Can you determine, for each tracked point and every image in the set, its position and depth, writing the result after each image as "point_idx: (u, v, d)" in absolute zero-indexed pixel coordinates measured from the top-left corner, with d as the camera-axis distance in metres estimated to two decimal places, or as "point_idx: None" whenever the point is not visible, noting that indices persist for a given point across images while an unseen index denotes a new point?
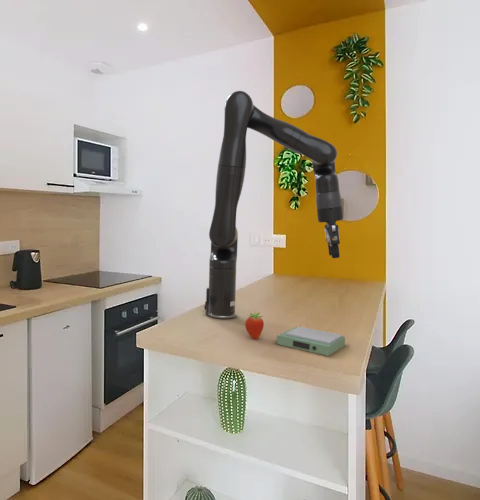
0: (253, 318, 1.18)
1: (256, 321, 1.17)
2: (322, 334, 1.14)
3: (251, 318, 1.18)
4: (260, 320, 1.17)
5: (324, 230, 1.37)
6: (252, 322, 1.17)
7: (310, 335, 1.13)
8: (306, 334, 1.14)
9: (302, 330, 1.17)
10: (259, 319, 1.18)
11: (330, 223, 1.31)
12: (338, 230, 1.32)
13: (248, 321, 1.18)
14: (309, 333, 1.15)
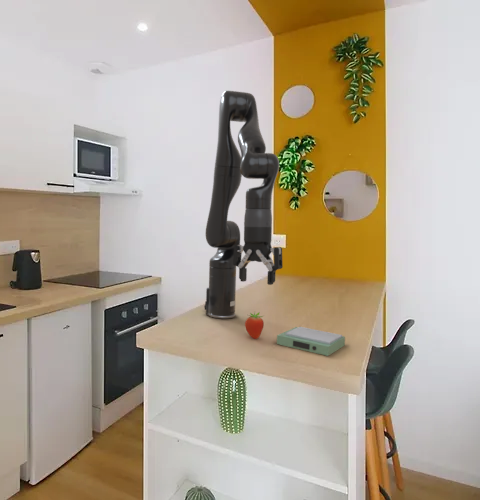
0: (253, 318, 1.18)
1: (256, 321, 1.17)
2: (322, 334, 1.14)
3: (251, 318, 1.18)
4: (260, 320, 1.17)
5: None
6: (252, 322, 1.17)
7: (310, 335, 1.13)
8: (306, 334, 1.14)
9: (302, 330, 1.17)
10: (259, 319, 1.18)
11: None
12: (246, 253, 1.18)
13: (248, 321, 1.18)
14: (309, 333, 1.15)
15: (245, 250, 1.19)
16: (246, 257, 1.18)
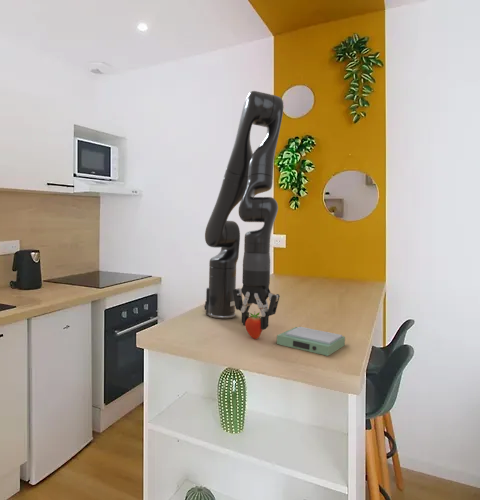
0: (253, 318, 1.18)
1: (256, 321, 1.17)
2: (322, 334, 1.14)
3: (251, 318, 1.18)
4: (260, 320, 1.17)
5: None
6: (252, 322, 1.17)
7: (310, 335, 1.13)
8: (306, 334, 1.14)
9: (302, 330, 1.17)
10: (259, 319, 1.18)
11: None
12: (245, 296, 1.19)
13: (248, 321, 1.18)
14: (309, 333, 1.15)
15: (243, 292, 1.20)
16: (246, 301, 1.19)
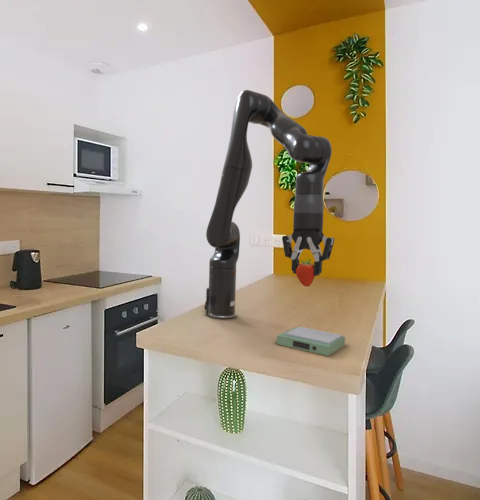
0: (305, 264, 1.12)
1: (309, 267, 1.11)
2: (322, 334, 1.14)
3: (303, 264, 1.12)
4: (313, 266, 1.12)
5: None
6: (304, 268, 1.11)
7: (310, 335, 1.13)
8: (306, 334, 1.14)
9: (302, 330, 1.17)
10: (312, 265, 1.12)
11: None
12: (296, 241, 1.13)
13: (300, 267, 1.12)
14: (309, 333, 1.15)
15: (294, 237, 1.14)
16: (298, 246, 1.13)
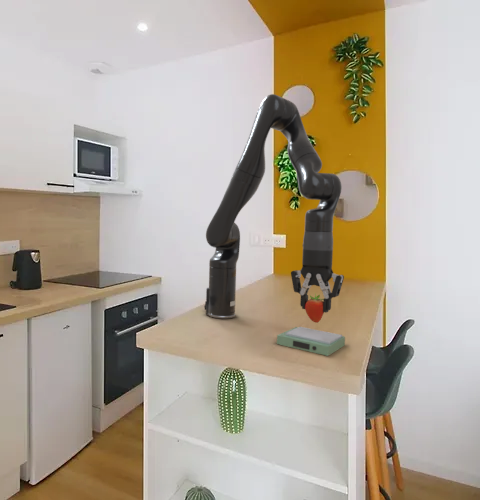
0: (314, 300, 1.12)
1: (318, 303, 1.11)
2: (322, 334, 1.14)
3: (312, 300, 1.12)
4: (322, 302, 1.12)
5: None
6: (314, 305, 1.11)
7: (310, 335, 1.13)
8: (306, 334, 1.14)
9: (302, 330, 1.17)
10: (321, 301, 1.12)
11: None
12: (305, 277, 1.13)
13: (309, 304, 1.12)
14: (309, 333, 1.15)
15: (303, 273, 1.14)
16: (307, 282, 1.13)
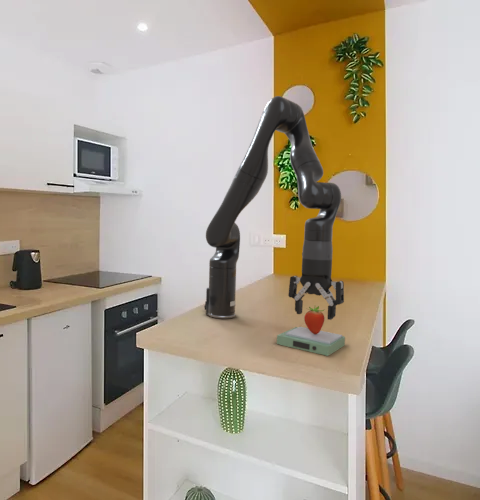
0: (314, 312, 1.12)
1: (317, 315, 1.11)
2: (322, 334, 1.14)
3: (312, 312, 1.12)
4: (321, 314, 1.12)
5: None
6: (313, 316, 1.12)
7: (310, 335, 1.13)
8: (306, 334, 1.14)
9: (302, 330, 1.17)
10: (320, 313, 1.12)
11: None
12: (304, 285, 1.13)
13: (308, 315, 1.13)
14: (309, 333, 1.15)
15: (302, 282, 1.14)
16: (304, 290, 1.14)
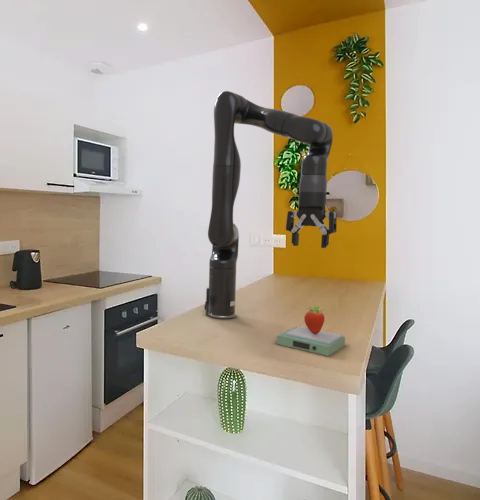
0: (314, 312, 1.12)
1: (317, 315, 1.11)
2: (322, 334, 1.14)
3: (312, 312, 1.12)
4: (321, 314, 1.12)
5: None
6: (313, 316, 1.12)
7: (310, 335, 1.13)
8: (306, 334, 1.14)
9: (302, 330, 1.17)
10: (320, 313, 1.12)
11: None
12: (300, 218, 1.23)
13: (308, 315, 1.13)
14: (309, 333, 1.15)
15: (299, 215, 1.24)
16: (300, 222, 1.23)
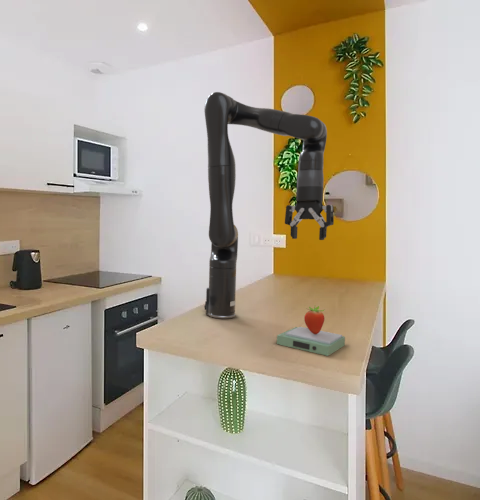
0: (314, 312, 1.12)
1: (317, 315, 1.11)
2: (322, 334, 1.14)
3: (312, 312, 1.12)
4: (321, 314, 1.12)
5: None
6: (313, 316, 1.12)
7: (310, 335, 1.13)
8: (306, 334, 1.14)
9: (302, 330, 1.17)
10: (320, 313, 1.12)
11: None
12: (298, 211, 1.27)
13: (308, 315, 1.13)
14: (309, 333, 1.15)
15: (297, 209, 1.28)
16: (298, 216, 1.28)
